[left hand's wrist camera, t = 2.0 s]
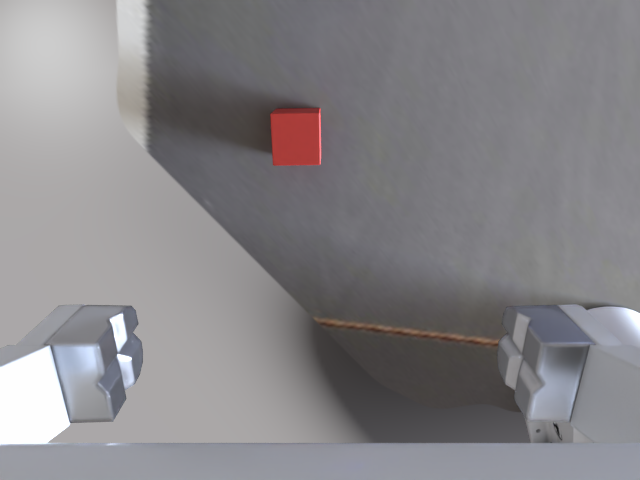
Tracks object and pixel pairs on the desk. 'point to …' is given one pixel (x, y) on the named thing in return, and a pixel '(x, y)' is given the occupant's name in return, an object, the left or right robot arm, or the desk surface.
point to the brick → (296, 136)
